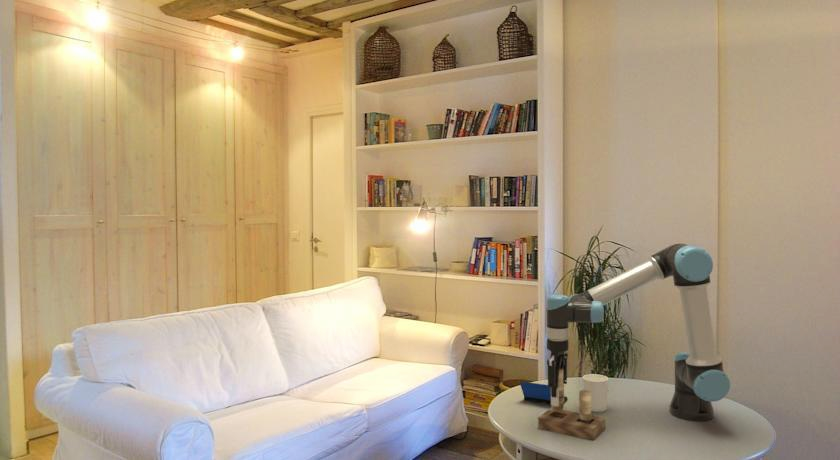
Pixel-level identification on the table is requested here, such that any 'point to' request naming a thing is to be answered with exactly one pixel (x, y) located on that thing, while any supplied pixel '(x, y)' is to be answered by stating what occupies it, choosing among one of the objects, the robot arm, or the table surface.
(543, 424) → the wooden peg block
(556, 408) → the beech peg
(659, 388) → the table surface
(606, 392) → the candle holder
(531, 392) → the handheld game console
